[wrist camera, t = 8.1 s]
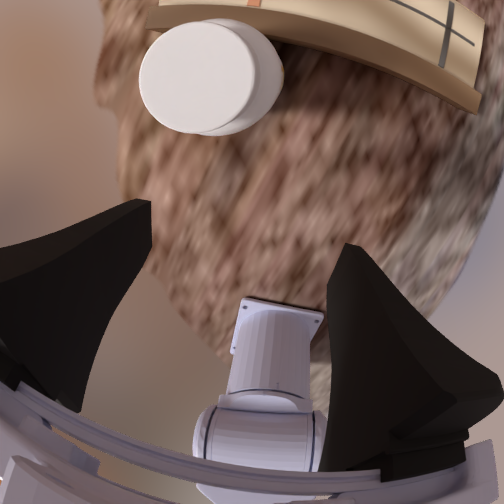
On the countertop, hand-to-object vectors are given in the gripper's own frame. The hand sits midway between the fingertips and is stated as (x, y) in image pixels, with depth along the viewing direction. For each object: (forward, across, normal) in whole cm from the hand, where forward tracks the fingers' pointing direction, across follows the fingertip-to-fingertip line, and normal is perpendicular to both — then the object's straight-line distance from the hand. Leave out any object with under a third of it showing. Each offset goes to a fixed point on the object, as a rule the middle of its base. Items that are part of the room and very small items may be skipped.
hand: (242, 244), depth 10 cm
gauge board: (+10, -2, -12) cm, 16 cm away
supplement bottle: (+10, +3, -6) cm, 12 cm away
